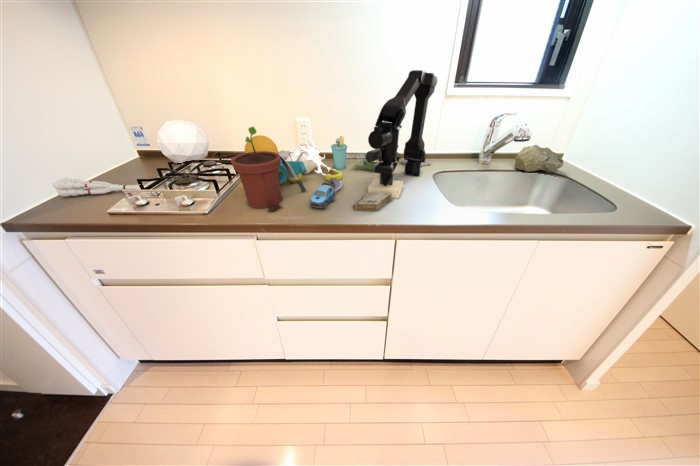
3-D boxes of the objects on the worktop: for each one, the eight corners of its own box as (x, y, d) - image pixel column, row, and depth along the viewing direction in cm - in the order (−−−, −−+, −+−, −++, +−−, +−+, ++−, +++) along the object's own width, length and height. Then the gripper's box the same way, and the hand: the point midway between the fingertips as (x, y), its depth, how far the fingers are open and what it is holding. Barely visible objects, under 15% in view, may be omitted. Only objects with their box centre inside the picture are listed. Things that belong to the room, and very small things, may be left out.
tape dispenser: (271, 183, 101) (262, 164, 97) (306, 170, 102) (298, 151, 98) (271, 187, 95) (262, 168, 91) (308, 174, 96) (300, 154, 92)
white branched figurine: (303, 130, 112) (291, 140, 116) (295, 150, 99) (281, 161, 103) (332, 162, 123) (320, 170, 127) (328, 184, 109) (315, 193, 113)
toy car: (307, 207, 86) (307, 192, 83) (322, 195, 96) (322, 181, 93) (323, 211, 84) (323, 196, 81) (336, 198, 94) (336, 184, 91)
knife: (346, 194, 97) (340, 172, 117) (346, 188, 95) (340, 166, 116) (326, 195, 96) (324, 172, 116) (326, 189, 94) (323, 167, 115)
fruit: (304, 183, 105) (302, 154, 99) (289, 186, 102) (285, 157, 96) (299, 177, 110) (295, 150, 103) (284, 180, 107) (279, 153, 101)
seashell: (290, 176, 110) (275, 180, 115) (307, 161, 120) (293, 166, 126) (277, 154, 105) (262, 160, 111) (296, 141, 115) (282, 147, 121)
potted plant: (252, 190, 99) (236, 122, 85) (306, 190, 99) (299, 123, 85) (235, 211, 84) (212, 134, 70) (298, 211, 84) (288, 135, 71)
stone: (371, 215, 83) (371, 207, 81) (351, 208, 87) (351, 200, 85) (392, 199, 93) (393, 192, 91) (373, 194, 97) (374, 186, 95)
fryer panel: (402, 188, 102) (403, 181, 100) (398, 198, 94) (399, 190, 92) (373, 184, 105) (374, 177, 103) (367, 194, 97) (368, 186, 95)
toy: (251, 173, 112) (282, 159, 113) (234, 141, 108) (265, 127, 109) (258, 173, 126) (285, 161, 127) (243, 145, 122) (270, 133, 123)
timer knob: (392, 184, 98) (393, 173, 95) (392, 185, 97) (393, 175, 94) (380, 182, 99) (381, 172, 97) (379, 183, 98) (380, 173, 95)
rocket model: (51, 173, 90) (144, 175, 95) (69, 182, 97) (155, 183, 102) (46, 192, 88) (142, 192, 93) (65, 200, 95) (153, 200, 100)
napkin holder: (412, 159, 133) (414, 145, 129) (421, 163, 128) (423, 148, 124) (407, 160, 132) (409, 146, 128) (415, 164, 127) (418, 149, 123)
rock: (577, 152, 107) (566, 157, 120) (533, 132, 113) (527, 140, 127) (551, 183, 113) (543, 185, 126) (510, 163, 119) (507, 167, 132)
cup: (345, 173, 115) (345, 140, 107) (329, 173, 116) (327, 139, 108) (348, 164, 127) (348, 133, 119) (333, 163, 128) (332, 132, 119)
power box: (382, 166, 125) (383, 158, 122) (378, 171, 118) (379, 163, 115) (361, 163, 128) (362, 155, 125) (356, 169, 120) (356, 161, 118)
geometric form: (147, 153, 122) (141, 125, 102) (182, 130, 133) (182, 101, 113) (184, 182, 129) (186, 162, 109) (214, 158, 140) (221, 136, 119)
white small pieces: (310, 130, 121) (314, 135, 122) (303, 136, 124) (307, 141, 126) (289, 159, 102) (294, 164, 103) (280, 165, 105) (285, 170, 107)
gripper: (374, 135, 98) (371, 173, 107) (361, 147, 84) (360, 190, 92) (402, 137, 96) (397, 176, 104) (394, 150, 81) (389, 194, 90)
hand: (386, 183), depth 98 cm, fingers open, 4 cm apart
